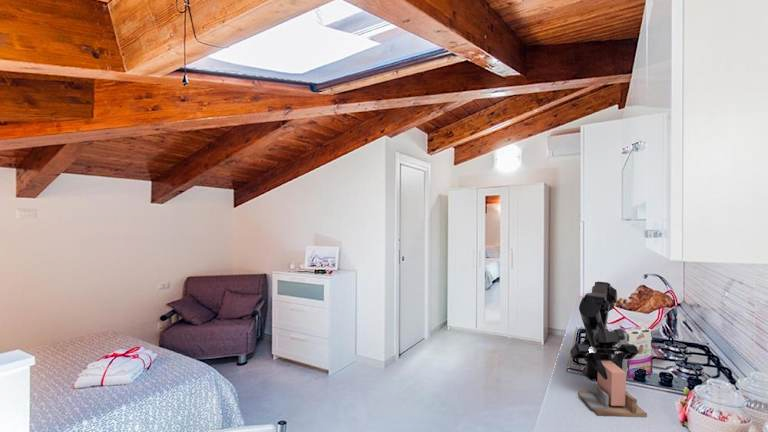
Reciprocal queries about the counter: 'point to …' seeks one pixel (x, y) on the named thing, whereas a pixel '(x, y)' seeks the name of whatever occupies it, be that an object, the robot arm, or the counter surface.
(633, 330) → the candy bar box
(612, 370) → the pink rectangular block
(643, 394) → the counter surface
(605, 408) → the book rack
